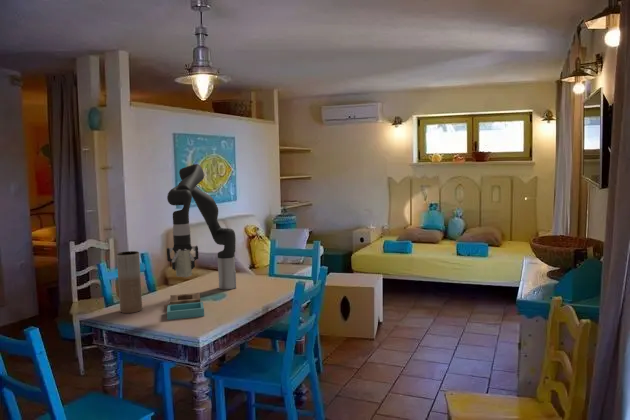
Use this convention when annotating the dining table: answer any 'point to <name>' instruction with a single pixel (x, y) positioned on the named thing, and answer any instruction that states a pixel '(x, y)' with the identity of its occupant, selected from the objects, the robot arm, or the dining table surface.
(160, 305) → the dining table surface
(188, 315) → the tray
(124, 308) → the vase
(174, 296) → the wooden square frame
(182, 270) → the skincare box
